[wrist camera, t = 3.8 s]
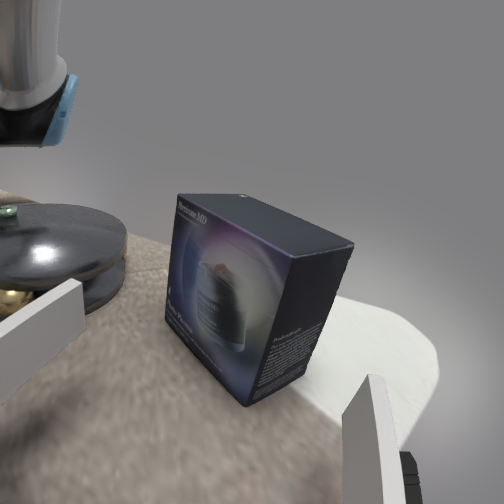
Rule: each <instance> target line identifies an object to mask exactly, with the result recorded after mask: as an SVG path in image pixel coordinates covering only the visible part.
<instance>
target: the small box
mask: <svg viewBox="0 0 504 504" xmlns="http://www.w3.org/2000/svg"><path fill="white" fill-rule="evenodd" d="M353 249H354V243H353V242H351V241H349V240H347V239H345V238H343V237H341V236H338V235H336V234H334V233H332V232H330V231H327V230H325V229H323V228H321V227H318V226H316V225H314V224H312V223H310V222H307V221H305V220H303V219H301V218H298V217H296V216H294V215H291V214H289V213H287V212H284V211H282V210H280V209H277V208H275V207H273V206H271V205H268V204H266V203H264V202H261V201H259V200H257V199H254V198H252V197H249V196H247V195H244V194H178V195H177V206H176V213H175V220H174V228H173V236H172V245H171V254H170V263H169V274H168V285H167V297H166V309H165V319H166V321H167V322H168V323H169V324H170V325H171V327H172V328H173V329H174V330H175V331H176V333H177V334H178V335H179V336H180V337H181V339H182V340H183V341H184V342H185V343H186V344H187V346H188V347H189V348H190V349H191V350H192V351H193V353H194V354H195V355H196V356H197V357H198V358H199V359H200V360H201V362H202V363H203V364H204V365H205V366H206V367H207V368H208V369H209V370H210V371H211V373H212V374H213V375H214V376H215V377H216V378H217V379H218V380H219V381H220V382H221V383H222V384H223V385H224V386H225V388H226V389H227V390H228V391H229V392H230V393H231V394H232V395H233V396H234V397H235V398H236V399H237V400H238V401H239V402H240V403H241V404H242V405H243V406H244V407H247V406H250V405H252V404H253V403H256V402H257V401H259V400H261V399H263V398H265V397H266V396H268V395H270V394H272V393H274V392H275V391H277V390H279V389H281V388H282V387H284V386H286V385H287V384H289V383H290V382H292V381H294V380H295V379H297V378H299V377H300V376H302V375H303V374H304V373H305V371H306V368H307V364H308V362H309V360H310V358H311V356H312V352H313V351H314V349H315V346H316V344H317V342H318V338H319V336H320V334H321V332H322V329H323V327H324V325H325V322H326V320H327V317H328V314H329V312H330V309H331V307H332V304H333V302H334V299H335V296H336V292H337V290H338V288H339V285H340V282H341V279H342V277H343V274H344V272H345V270H346V266H347V263H348V260H349V259H350V257H351V254H352V251H353Z"/></svg>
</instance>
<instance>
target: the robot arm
mask: <svg viewBox="0 0 504 504" xmlns="http://www.w3.org/2000/svg"><path fill="white" fill-rule="evenodd" d="M61 1H62V0H0V147H39V148H42V147H44V146H55V145H58V144H59V143H60V142H61V141H62V139H63V137H64V134H65V131H66V128H67V124H68V120H69V116H70V113H71V109H72V105H73V101H74V97H75V93H76V89H77V85H78V77H77V76H75V75H72V74H69V75H67V66H66V63H65V61H64V60H63V58H61V57H60V56H59V55H57V44H58V28H59V17H60V8H61ZM85 330H86V321H85V311H84V300H83V286H82V283H81V282H79V281H77V280H75V279H73V278H71V279H69V280H67V281H65V282H64V283H62V284H60V285H59V286H57V287H55V288H54V289H52V290H50V291H49V292H47V293H46V294H44V295H42V296H41V297H39V298H37V299H36V300H34V301H33V302H31V303H29V304H28V305H26V306H25V307H23V308H22V309H20V310H19V311H17V312H15V313H14V314H13V313H12V314H9V315H5V316H2V317H1V318H0V405H2V404H3V403H4V402H5V401H7V400H8V399H9V398H10V397H11V396H12V395H13V394H14V393H15V392H16V391H17V390H18V389H19V388H20V387H22V386H23V385H24V384H25V383H26V382H27V381H28V380H29V379H30V378H31V377H32V376H34V375H35V374H36V373H37V372H38V371H39V370H40V369H41V368H42V367H44V366H45V365H46V364H47V363H48V362H49V361H50V360H52V359H53V358H54V357H55V356H56V355H57V354H58V353H60V352H61V351H62V350H63V349H64V348H65V347H66V346H68V345H69V344H70V343H71V342H72V341H73V340H75V339H76V338H77V337H78V336H79V335H81V334H82V333H83V332H84V331H85ZM342 447H343V471H342V504H423V503H422V495H421V488H420V486H419V484H420V481H419V476H418V470H417V464H416V461H415V460H414V458H413V456H412V455H411V453H410V452H400V451H399V448H398V442H397V437H396V431H395V426H394V421H393V416H392V411H391V406H390V401H389V397H388V392H387V388H386V384H385V379H384V377H382V376H377V375H371V374H368V375H367V376H366V378H365V380H364V381H363V383H362V385H361V386H360V388H359V390H358V391H357V393H356V394H355V396H354V397H353V399H352V401H351V402H350V404H349V405H348V407H347V408H346V410H345V411H344V413H343V414H342Z"/></svg>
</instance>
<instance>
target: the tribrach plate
mask: <svg viewBox="0 0 504 504" xmlns="http://www.w3.org/2000/svg"><path fill="white" fill-rule="evenodd" d="M127 237H128V234H127V233H126V228H125V226H124V224H123V223H122V222H120V220H118V219H117V218H115V217H114V216H112V215H110V214H108V213H105V212H103V211H100V210H97V209H92V208H88V207H83V206H77V205H67V204H34V205H25V206H18V207H17V206H15V205H5V206H2V207H0V318H1V317H2V316H5V315H9V314H12V313H13V314H14V313H15V312H17V311H19V310H20V309H22V308H23V307H25V306H26V305H28V304H29V303H31V302H33V301H34V300H36V299H37V298H39V297H41V296H42V295H44V294H46V293H47V292H49V291H50V290H52V289H54V288H55V287H57V286H59V285H60V284H62V283H64V282H65V281H67V280H69V279H71V278H73V279H75V280H77V281H79V282H81V283H82V286H83V300H84V311H85V315H86V314H88V313H90V312H92V311H94V310H96V309H98V308H100V307H101V306H103V305H104V304H106V303H107V302H108V301H109V300H111V299H112V298H113V297H114V296H115V295H116V293H117V292H118V291H119V290H120V288H121V286H122V284H123V281H124V266H125V264H124V260H123V256H124V255H126V253H127Z"/></svg>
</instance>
